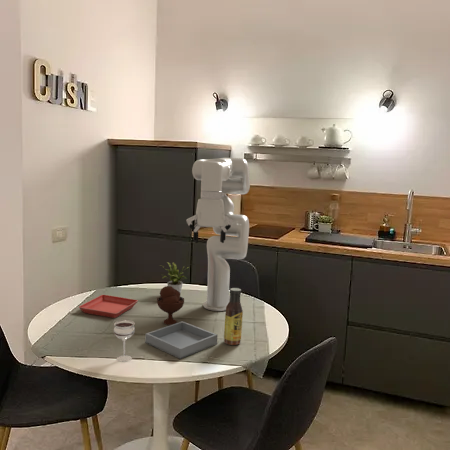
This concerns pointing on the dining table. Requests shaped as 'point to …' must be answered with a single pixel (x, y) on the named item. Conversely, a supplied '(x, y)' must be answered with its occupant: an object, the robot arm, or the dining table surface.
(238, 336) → the sauce bottle
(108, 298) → the red square tray
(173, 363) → the dining table surface
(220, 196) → the robot arm
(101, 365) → the dining table surface
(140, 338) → the dining table surface
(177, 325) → the parts tray
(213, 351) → the dining table surface
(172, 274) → the house plant
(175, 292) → the ice cream bowl
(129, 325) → the wineglass
